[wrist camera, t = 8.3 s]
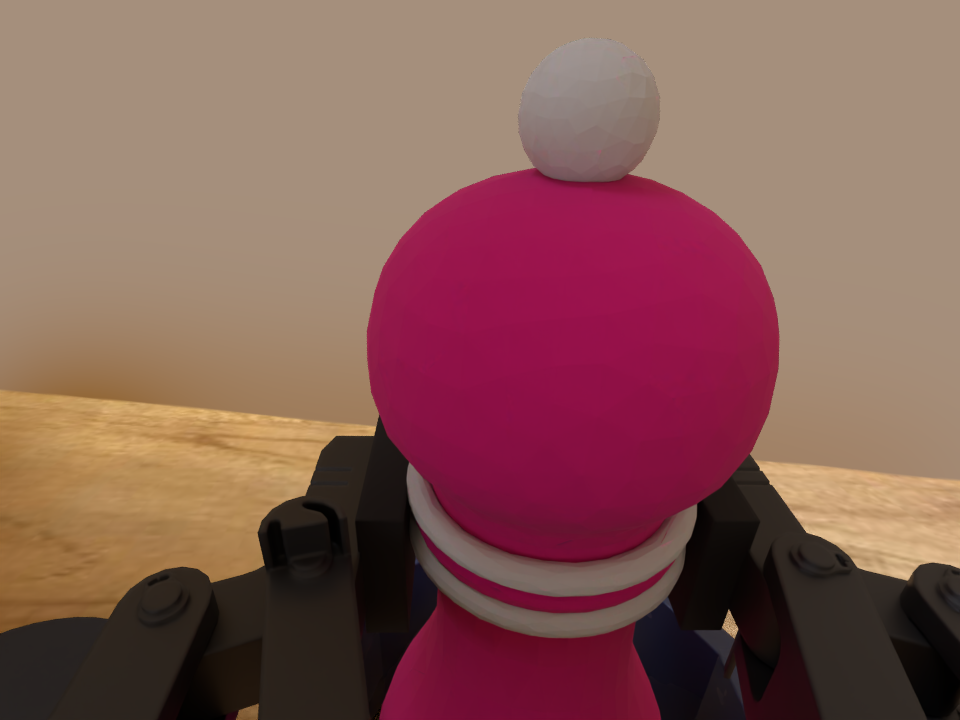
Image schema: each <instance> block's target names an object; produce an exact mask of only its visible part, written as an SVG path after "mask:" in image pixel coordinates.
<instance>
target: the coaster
mask: <svg viewBox="0 0 960 720" xmlns="http://www.w3.org/2000/svg"><path fill="white" fill-rule="evenodd" d="M107 620H108V619H103V618H96V617H73V618H62V619H54V620H49V621H43V622H38V623H33V624H30V625H26V626H23V627H19V628H15V629H12V630H9V631H6V632H3V633H0V720H47V719H48V717H49V715H50V714H51V712H52V710H53V709H54V707H55V706H56V704H57V702H58V701H59V699H60V697H61V696H62V694H63V692H64V691H65V689H66V688H67V686H68V684H69V683H70V681H71V679H72V678H73V676H74V674H75V673H76V671H77V670H78V668H79V666H80V665H81V663H82V661H83V660H84V658H85V656H86V655H87V653H88V652H89V650H90V648H91V647H92V645H93V643H94V642H95V640H96V638H97V637H98V635H99V634H100V632H101V630H102V629H103V627H104V625H105V624H106V622H107Z"/></svg>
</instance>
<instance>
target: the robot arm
mask: <svg viewBox="0 0 960 720" xmlns="http://www.w3.org/2000/svg"><path fill="white" fill-rule="evenodd" d="M408 465H409V461H408V460H407V459H406V458H405V456H404V455H403V454H402V453H401V452H400V451H399V449H398V448H397V447H396V446H395V445H394V443H393V442H392V441H391V440H390V439H389V437H388V436H387V433H386V431H385V428H384V425H383V423H382V420H381V417H380V415H379V418H378V422H377V427H376V431H375V435H374V436H336V437H335V438H334V439H333V440H332V441H331V442H330V443H329V444H328V445H327V446H326V447H325V448H324V449H323V450H322V451H321V454H320V456H319V459H318V462H317V465H316V470H315V471H314V473H313V476H312V479H311V484H310V485H309V487H308V490H307V493H306V496H302V497H298V498H295V499H292V500H288V501H286V502H284V503H282V504H281V505H279V506H277V507H275V508H274V509H272V510H271V511H270V512H269V514H268V515H267V516H266V517H265V518H264V519H263V520H262V522H261V525H260V528H259V531H258V537H259V541H260V546H261V551H262V555H263V560H264V564H265V566H263V567H261V568H259V569H257V570H255V571H252V572H249V573H246V574H244V575H240V576H236V577H232V578H229V579H225V580H221V581H217V582H214V583H211V582H210V580H209V577H208V576H207V575H206V574H204V573H203V572H201V571H200V570H198V569H194V568H188V567H178V568H171V569H165V570H163V571H160V572H158V573H155V574H153V575H151V576H148V577H146V578H145V579H143V580H142V581H141V582H139V583H138V584H136V585H135V586H134V587H132V588H131V589H130V590H129V591H128V592H127V593H126V594H125V596H124V597H123V598H122V599H121V600H120V602H119V603H118V604H117V606H116V607H115V609H114V611H113V612H112V614H111V616H110V617H109V619H108V620H107V622H106V624H105V625H104V627H103V629H102V630H101V632H100V634H99V635H98V637H97V638H96V640H95V642H94V643H93V645H92V647H91V648H90V650H89V652H88V653H87V655H86V656H85V658H84V660H83V661H82V663H81V665H80V666H79V668H78V670H77V671H76V673H75V674H74V676H73V678H72V679H71V681H70V683H69V684H68V686H67V688H66V689H65V691H64V692H63V694H62V696H61V697H60V699H59V701H58V702H57V704H56V706H55V707H54V709H53V710H52V712H51V714H50V715H49V717H48V719H47V720H236V718H237V715H238V712H239V710H241V709H244V708H247V707H250V706H253V705H256V704H258V703H259V710H258V720H370V714H369V705H368V696H367V687H366V678H365V669H364V660H363V652H362V643H361V640H362V634H363V628H364V622H366V631H367V633H409V625H410V614H411V603H412V592H413V581H414V570H415V559H416V555H415V552H414V549H413V547H412V544H411V540H410V534H409V522H410V512H411V507H410V505H409V500H408V496H407V471H408ZM668 598H669V601H670V604H671V606H672V609H673V611H674V614H675V617H676V619H677V622H678V625H679V627H680V630H721V629H722V626H723V623H724V621H725V618H726V615H727V612H728V609H729V610H730V612H731V614H732V616H733V618H734V620H735V622H736V625H737V627H738V632H737V635H736V637H735V640H734V642H733V645H732V648H731V650H730V653H729V655H728V658H727V661H726V663H725V666H724V678H727V679H730V678H731V675H732V673H733V670H734V668H735V665H736V667H737V672H738V678H739V683H740V689H741V694H742V700H743V705H744V710H745V716H746V720H960V569H959V568H956V567H953V566H951V565H945V564H939V563H928V564H922V565H920V566H919V567H918V568H917V569H916V570H915V571H914V572H913V574H912V575H911V577H910V579H909V580H908V581H906V580H902V579H898V578H894V577H890V576H885V575H881V574H877V573H873V572H869V571H865V570H862V569H859V568H857V567H856V565H855V564H854V562H853V561H852V560H851V558H850V557H849V556H848V555H847V554H846V553H845V552H843V551H842V550H841V549H840V548H839V547H837V546H836V545H834V544H832V543H831V542H829V541H827V540H825V539H823V538H821V537H818V536H815V535H812V534H808V533H806V531H805V530H804V529H803V527H802V526H801V524H800V523H799V522H798V520H797V519H796V518H795V516H794V515H793V513H792V512H791V511H790V509H789V508H788V506H787V505H786V504H785V502H784V501H783V499H782V498H781V497H780V495H779V494H778V493H777V491H776V490H775V488H774V487H773V486H772V485H770V484H769V480H768V479H767V477H766V476H765V475H764V473H763V472H762V471H760V468H759V466H758V465H757V463H756V462H755V461H754V459H753V458H752V457H751V455H750V454H749V455H748V456H747V457H746V459H745V460H744V461H743V462H742V464H741V465H740V466H739V467H738V468H737V470H736V471H735V472H734V473H733V474H732V475H731V477H730V478H729V479H728V480H727V481H726V482H725V483H724V485H723V486H722V487H721V488H719V489H718V490H716V491H715V492H713V493H712V494H710V495H709V496H707V497H706V498H704V499H703V500H701V501H700V502H698V503H697V518H696V522H695V525H694V529H693V532H692V535H691V538H690V539H689V541H688V542H687V544H686V553H685V561H684V566H683V569H682V572H681V574H680V576H679V578H678V580H677V582H676V584H675V585H674V587H673V589H672V590H671V592H670V594H669V595H668Z"/></svg>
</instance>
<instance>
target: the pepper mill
mask: <svg viewBox="0 0 960 720" xmlns="http://www.w3.org/2000/svg"><path fill="white" fill-rule="evenodd" d="M659 117H660V96H659V93H658V89H657V86H656V82H655V79H654V76H653V74H652V73H651V71H650V69H649V68H648V66H647V65H646V63H645V61H644V60H643V59H642V58H641V57H640V56H638V55H637V54H636V53H634V52H633V51H632V50H630V49H629V48H628V47H626V46H625V45H624V44H622V43H619V42H616V41H614V40H611V39H599V38H585V39H581V40H576V41H572V42H569V43H567V44H565V45H563V46H561V47H558V48H557V49H556V50H555V51H553V52H552V53H551V54H549V55H548V56H547V57H546V58H544V59H543V60H542V62H541V63H540V64H539V65H538V67H537V68H536V69H535V70H534V71H533V73H532V74H531V76H530V78H529V80H528V82H527V84H526V87H525V89H524V91H523V93H522V99H521V103H520V108H519V114H518V120H519V134H520V137H521V141H522V144H523V148H524V150H525V152H526V154H527V156H528V157H529V159H530V160H531V162H532V164H533V166H535V167H536V168H533V169H527V170H522V171H517V172H512V173H507V174H502V175H497V176H493V177H490V178H488V179H485V180H483V181H480V182H478V183H475V184H472V185H470V186H467V187H465V188H462V189H460V190H458V191H457V192H455V193H453V194H452V195H450V196H449V197H447V198H445V199H444V200H442V201H441V202H439V203H438V204H437V205H435V206H434V207H433V208H431V209H429V210H428V211H427V212H425V213H424V214H423V215H422V216H421V217H420V218H419V219H418V221H417V222H416V223H415V224H414V225H413V226H412V227H411V228H410V229H409V230H408V231H407V232H406V233H405V234H404V236H403V237H402V238H401V239H400V240H399V242H398V244H397V245H396V247H395V249H394V250H393V252H392V254H391V255H390V257H389V258H388V260H387V262H386V263H385V265H384V267H383V269H382V272H381V275H380V278H379V281H378V284H377V287H376V290H375V293H374V298H373V303H372V308H371V313H370V318H369V323H368V328H367V361H368V369H369V378H370V386H371V393H372V396H373V399H374V401H375V404H376V406H377V409H378V412H379V415H380V417H381V420H382V423H383V425H384V428H385V431H386V433H387V436H388V437H389V439H390V440H391V441H392V442H393V443H394V445H395V446H396V447H397V448H398V449H399V451H400V452H401V453H402V454H403V455H404V456H405V458H406V459H407V460H408V461H409V465H408V471H407V496H408V500H409V505H410V507H411V512H410V522H409V534H410V540H411V544H412V547H413V549H414V552H415V555H416V558H417V560H418V561H419V563H420V565H421V566H422V568H423V570H424V571H425V573H426V574H427V576H428V577H429V578H430V579H431V581H432V582H433V583H434V584H435V585H436V587H437V588H438V595H437V607H436V608H435V610H434V612H433V613H432V615H431V616H430V618H429V620H428V621H427V622H426V623H425V625H424V626H423V627H422V629H421V630H420V631H419V632H418V634H417V635H416V636H415V638H414V639H413V640H412V642H411V643H410V645H409V646H408V648H407V650H406V652H405V653H404V655H403V657H402V659H401V661H400V662H399V664H398V666H397V669H396V671H395V674H394V676H393V679H392V681H391V684H390V686H389V689H388V692H387V694H386V697H385V699H384V702H383V704H382V708H381V713H380V718H379V720H661V716H660V711H659V707H658V704H657V701H656V699H655V696H654V693H653V690H652V687H651V684H650V681H649V679H648V677H647V674H646V672H645V670H644V667H643V665H642V663H641V661H640V658H639V656H638V654H637V651H636V649H635V647H634V644H633V642H632V641H633V635H634V629H635V623H636V621H638V620H640V619H641V618H643V617H644V616H645V615H647V614H648V613H650V612H651V611H653V610H654V609H655V608H657V607H658V606H659V605H660V604H661V603H662V602H663V601H664V600H665V599H666V598H667V597H668V595H669V594H670V592H671V590H672V589H673V587H674V585H675V584H676V582H677V580H678V578H679V576H680V574H681V572H682V569H683V566H684V561H685V553H686V544H687V542H688V541H689V539H690V538H691V535H692V532H693V529H694V525H695V522H696V518H697V503H698V502H700V501H701V500H703V499H704V498H706V497H707V496H709V495H710V494H712V493H713V492H715V491H716V490H718V489H719V488H721V487H722V486H723V485H724V483H725V482H726V481H727V480H728V479H729V478H730V477H731V475H732V474H733V473H734V472H735V471H736V470H737V468H738V467H739V466H740V465H741V464H742V462H743V461H744V460H745V459H746V457H747V456H748V455H749V454H750V452H751V451H752V449H753V447H754V445H755V443H756V440H757V438H758V436H759V434H760V432H761V429H762V427H763V425H764V423H765V420H766V418H767V416H768V414H769V410H770V405H771V400H772V396H773V391H774V387H775V382H776V378H777V373H778V365H779V328H778V318H777V312H776V307H775V302H774V298H773V295H772V292H771V290H770V287H769V285H768V282H767V280H766V277H765V275H764V272H763V269H762V267H761V265H760V264H759V262H758V261H757V259H756V258H755V257H754V255H753V254H752V253H751V251H750V250H749V249H748V247H747V246H746V244H745V243H744V242H743V240H742V239H741V238H740V236H739V235H738V234H737V233H736V232H735V231H734V230H733V229H732V228H731V227H730V226H729V225H728V224H726V223H725V222H724V221H723V220H722V219H721V218H720V217H719V216H718V215H716V214H715V213H714V212H713V211H711V210H710V209H708V208H706V207H705V206H703V205H701V204H699V203H698V202H696V201H695V200H693V199H692V198H690V197H688V196H687V195H685V194H684V193H682V192H679V191H677V190H674V189H672V188H670V187H667V186H665V185H663V184H660V183H658V182H656V181H653V180H650V179H646V178H642V177H638V176H634V175H630V174H628V173H629V172H631V171H632V170H633V169H635V167H636V166H637V165H638V164H639V163H640V162H641V161H642V160H643V158H644V156H645V154H646V153H647V151H648V150H649V147H650V145H651V143H652V141H653V139H654V137H655V134H656V132H657V129H658V124H659V119H660V118H659Z"/></svg>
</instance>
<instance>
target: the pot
mask: <svg viewBox="0 0 960 720" xmlns="http://www.w3.org/2000/svg"><path fill="white" fill-rule="evenodd" d="M437 595H438V588H437V587H436V585H435V584H434V583H433V582H432V581H431V579H430V578H429V577H428V576H427V574H426V573H425V571H424V570H423V568H422V566H421V565H420V563H419V561H418V560H417V558H416V559H415V570H414V581H413V592H412V603H411V614H410V625H409V633H367V631H366V622H364V628H363V634H362V640H361V643H362V652H363V660H364V669H365V678H366V687H367V696H368V705H369V714H370V720H372V719H373V717H374V716H375V714H376V713H377V711H378V710H379V708H380V707H381V705H382V704H383V702H384V699H385V697H386V694H387V692H388V689H389V686H390V684H391V681H392V679H393V676H394V674H395V671H396V669H397V666H398V664H399V662H400V661H401V659H402V657H403V655H404V653H405V652H406V650H407V648H408V646H409V645H410V643H411V642H412V640H413V639H414V638H415V636H416V635H417V634H418V632H419V631H420V630H421V629H422V627H423V626H424V625H425V623H426V622H427V621H428V620H429V618H430V616H431V615H432V613H433V612H434V610H435V608H436V607H437ZM734 640H735V639H734V638H733V637H732V636H730V635H729V634H728V633H727V632H726V631H725V630H724V629H723V628H722V629H721V630H680V627H679V625H678V622H677V619H676V617H675V614H674V611H673V609H672V606H671V604H670V601H669V598H668V597H667V598H666V599H665V600H664V601H663V602H662V603H661V604H660V605H659V606H658V607H657V608H655V609H654V610H653V611H651V612H650V613H648V614H647V615H645V616H644V617H643V618H641V619H640V620H638V621H636V623H635V629H634V635H633V641H632V642H633V644H634V647H635V649H636V651H637V654H638V656H639V658H640V661H641V663H642V665H643V667H644V670H645V672H646V674H647V677H648V679H649V681H650V684H651V687H652V690H653V693H654V696H655V699H656V701H657V704H658V707H659V711H660V716H661V720H746V716H745V710H744V705H743V700H742V694H741V689H740V683H739V678H738V672H737V667H736V665H735V668H734V670H733V673H732V675H731V678H730V679H727V678H724V666H725V663H726V661H727V658H728V655H729V653H730V650H731V648H732V645H733V642H734Z"/></svg>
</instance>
